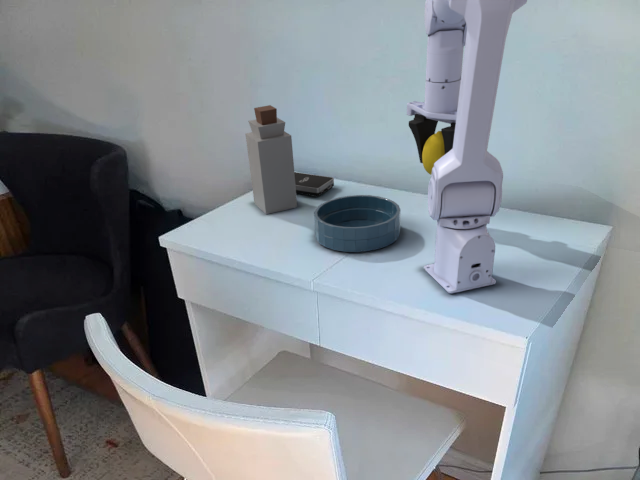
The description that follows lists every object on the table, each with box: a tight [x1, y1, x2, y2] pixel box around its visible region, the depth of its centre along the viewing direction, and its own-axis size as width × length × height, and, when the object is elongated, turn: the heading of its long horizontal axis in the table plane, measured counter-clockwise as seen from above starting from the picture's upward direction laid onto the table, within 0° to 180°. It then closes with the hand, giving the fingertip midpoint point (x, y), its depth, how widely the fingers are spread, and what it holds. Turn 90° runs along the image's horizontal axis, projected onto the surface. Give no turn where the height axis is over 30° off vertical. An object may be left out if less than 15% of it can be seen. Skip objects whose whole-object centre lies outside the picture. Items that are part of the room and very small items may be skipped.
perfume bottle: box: [245, 104, 298, 215], centre depth 118 cm, size 7×7×18 cm
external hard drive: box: [294, 171, 335, 197], centre depth 129 cm, size 7×11×2 cm, turn 59°
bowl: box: [313, 194, 402, 253], centre depth 109 cm, size 15×15×4 cm
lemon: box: [422, 130, 445, 176], centre depth 107 cm, size 6×6×8 cm
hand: (437, 165), depth 108 cm, fingers closed on lemon, 5 cm apart
